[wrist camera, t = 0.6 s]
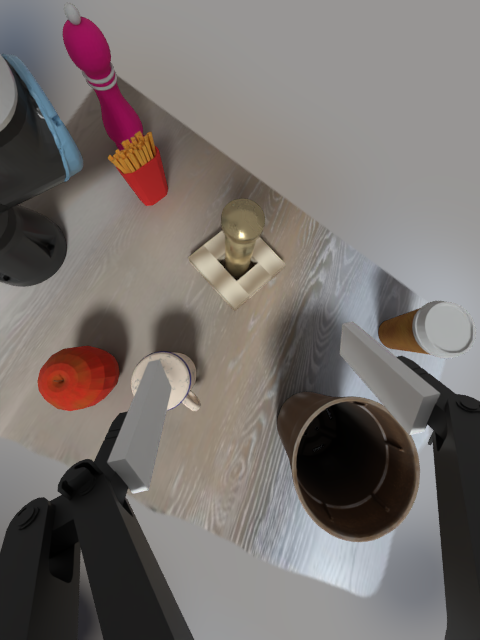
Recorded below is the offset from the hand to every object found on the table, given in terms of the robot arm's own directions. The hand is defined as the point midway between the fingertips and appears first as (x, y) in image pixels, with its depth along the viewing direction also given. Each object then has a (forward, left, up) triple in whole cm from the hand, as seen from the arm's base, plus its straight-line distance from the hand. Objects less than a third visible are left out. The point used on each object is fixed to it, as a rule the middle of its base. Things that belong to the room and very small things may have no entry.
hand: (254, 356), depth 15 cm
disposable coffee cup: (+20, +27, -28) cm, 44 cm away
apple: (-14, -22, -28) cm, 38 cm away
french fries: (-37, +9, -28) cm, 48 cm away
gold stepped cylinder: (-13, +12, -28) cm, 33 cm away
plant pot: (+20, +1, -28) cm, 34 cm away
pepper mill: (-49, +13, -28) cm, 58 cm away
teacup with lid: (-3, -12, -28) cm, 31 cm away
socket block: (-13, +12, -28) cm, 33 cm away
